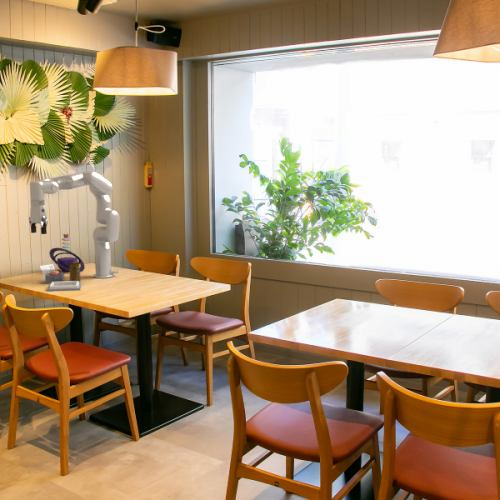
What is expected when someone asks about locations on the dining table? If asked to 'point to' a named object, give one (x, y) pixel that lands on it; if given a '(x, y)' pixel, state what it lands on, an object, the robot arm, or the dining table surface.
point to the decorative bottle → (65, 262)
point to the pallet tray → (64, 286)
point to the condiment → (75, 272)
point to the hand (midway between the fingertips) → (38, 233)
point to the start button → (54, 273)
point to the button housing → (54, 278)
